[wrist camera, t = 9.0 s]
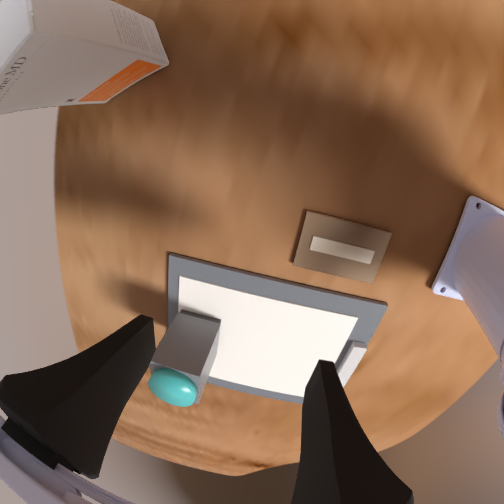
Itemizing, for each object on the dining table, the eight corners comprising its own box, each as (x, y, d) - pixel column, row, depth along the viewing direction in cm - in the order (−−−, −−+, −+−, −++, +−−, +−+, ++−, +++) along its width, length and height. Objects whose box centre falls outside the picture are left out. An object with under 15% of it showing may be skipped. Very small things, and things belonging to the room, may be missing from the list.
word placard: (390, 232, 18) (392, 234, 18) (371, 281, 20) (372, 284, 19) (307, 209, 18) (307, 211, 18) (293, 263, 20) (292, 266, 20)
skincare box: (105, 105, 17) (-35, 126, 6) (91, 61, 16) (-41, 60, 5) (174, 64, 15) (31, 32, 5) (156, 18, 14) (26, -33, 3)
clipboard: (387, 302, 20) (389, 311, 19) (327, 404, 27) (327, 412, 26) (171, 252, 21) (165, 259, 20) (170, 368, 28) (167, 376, 27)
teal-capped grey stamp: (222, 318, 23) (196, 385, 17) (218, 348, 24) (195, 412, 18) (180, 307, 23) (144, 368, 17) (180, 338, 25) (149, 397, 18)
